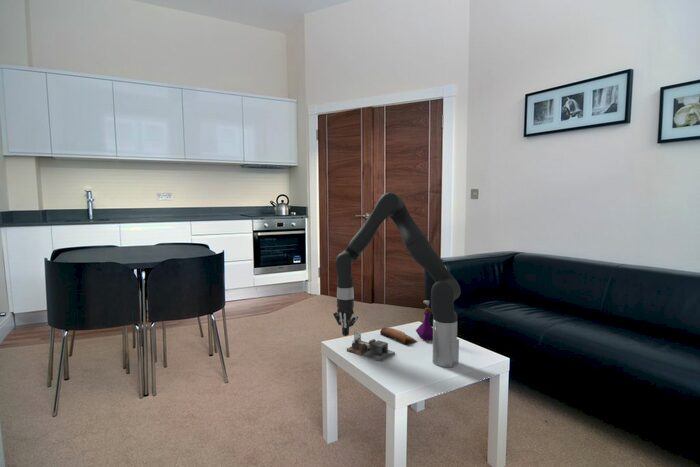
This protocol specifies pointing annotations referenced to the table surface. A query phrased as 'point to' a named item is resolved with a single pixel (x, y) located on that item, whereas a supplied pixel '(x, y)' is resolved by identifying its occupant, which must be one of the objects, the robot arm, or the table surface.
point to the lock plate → (372, 350)
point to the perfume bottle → (425, 325)
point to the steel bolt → (359, 340)
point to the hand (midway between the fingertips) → (345, 335)
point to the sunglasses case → (397, 335)
